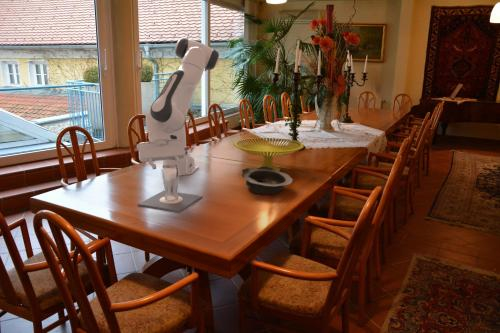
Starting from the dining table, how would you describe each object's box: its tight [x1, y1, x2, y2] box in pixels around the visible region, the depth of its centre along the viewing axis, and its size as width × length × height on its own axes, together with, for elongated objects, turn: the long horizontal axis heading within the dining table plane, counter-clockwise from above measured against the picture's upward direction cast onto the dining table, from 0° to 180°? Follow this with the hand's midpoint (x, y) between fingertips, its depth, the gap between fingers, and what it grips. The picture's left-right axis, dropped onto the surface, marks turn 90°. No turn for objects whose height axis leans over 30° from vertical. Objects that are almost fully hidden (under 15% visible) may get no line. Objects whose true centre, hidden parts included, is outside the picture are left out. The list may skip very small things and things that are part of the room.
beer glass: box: [161, 164, 180, 202], centre depth 172 cm, size 7×7×15 cm
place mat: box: [137, 189, 203, 214], centre depth 173 cm, size 20×20×1 cm
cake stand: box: [233, 137, 305, 172], centre depth 226 cm, size 40×40×15 cm
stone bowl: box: [241, 165, 294, 195], centre depth 191 cm, size 25×25×9 cm
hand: (165, 167), depth 173 cm, fingers open, 8 cm apart
